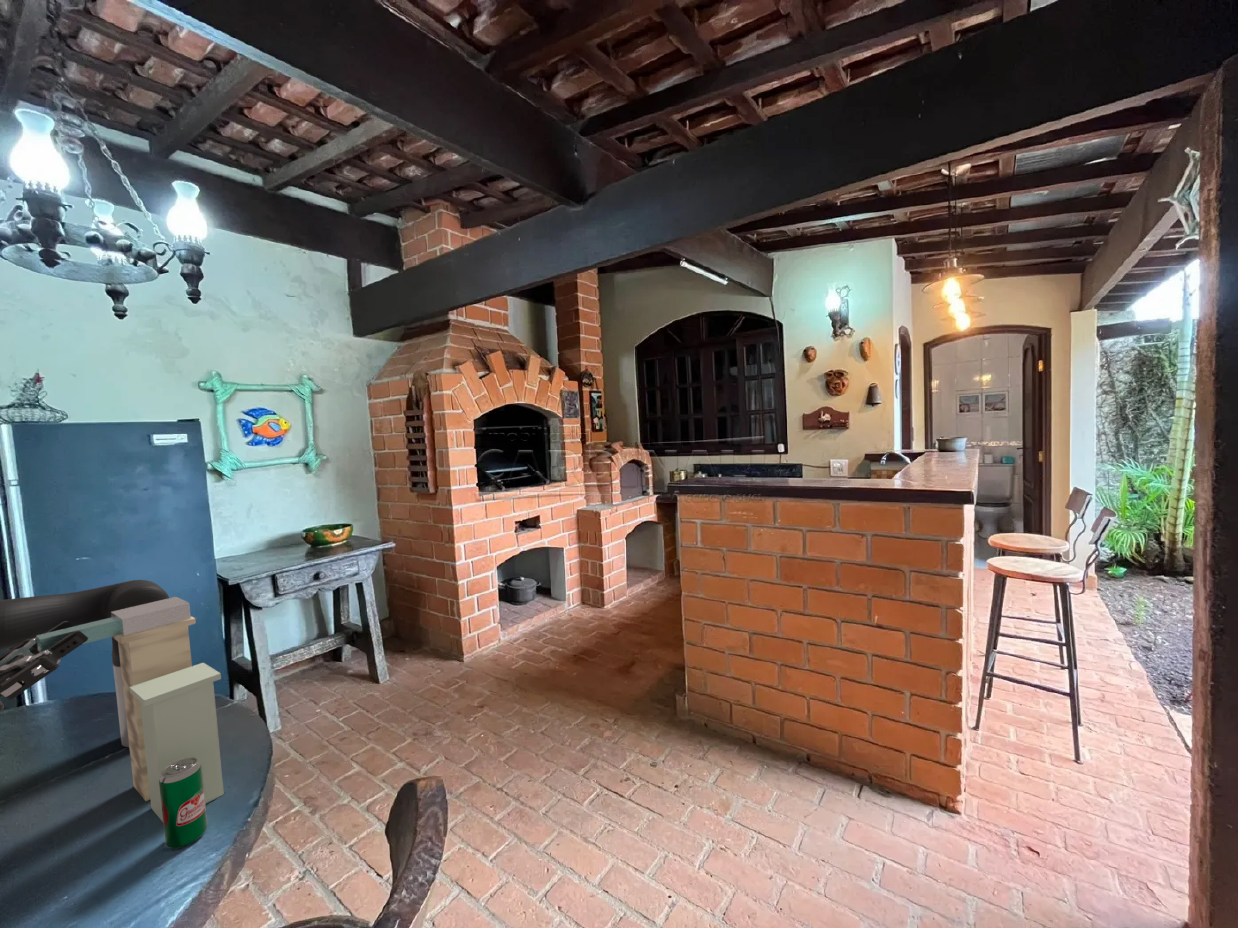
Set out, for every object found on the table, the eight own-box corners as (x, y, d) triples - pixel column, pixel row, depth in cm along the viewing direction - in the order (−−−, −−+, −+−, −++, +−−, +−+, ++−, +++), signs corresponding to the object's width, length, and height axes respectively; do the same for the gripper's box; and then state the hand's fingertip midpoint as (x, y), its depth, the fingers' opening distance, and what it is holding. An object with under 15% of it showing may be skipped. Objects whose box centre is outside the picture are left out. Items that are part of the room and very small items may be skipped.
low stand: (142, 810, 85) (129, 686, 84) (214, 775, 94) (203, 662, 92) (158, 830, 81) (144, 700, 79) (231, 791, 89) (220, 673, 88)
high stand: (125, 788, 91) (107, 628, 89) (194, 757, 99) (179, 610, 97) (139, 805, 87) (120, 638, 84) (210, 771, 95) (195, 618, 93)
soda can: (183, 853, 76) (175, 779, 76) (157, 848, 77) (149, 775, 77) (215, 827, 81) (209, 757, 80) (190, 822, 82) (183, 753, 81)
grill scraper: (35, 647, 81) (33, 629, 81) (177, 611, 96) (176, 596, 96) (44, 657, 77) (42, 639, 77) (190, 618, 92) (189, 602, 92)
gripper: (-41, 720, 77) (85, 635, 88) (-30, 750, 69) (107, 653, 81) (-89, 690, 74) (49, 606, 85) (-82, 719, 66) (68, 622, 77)
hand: (77, 629), depth 83 cm, fingers open, 7 cm apart
